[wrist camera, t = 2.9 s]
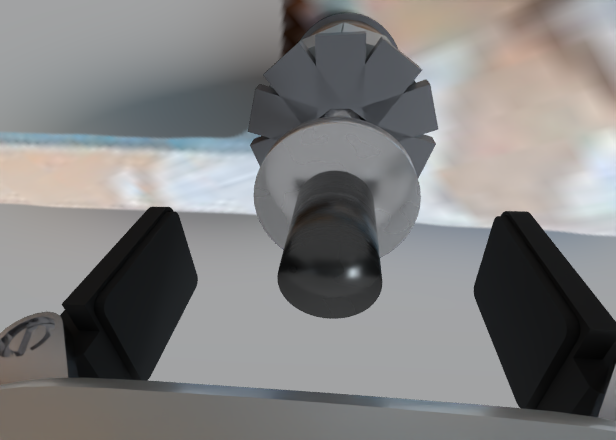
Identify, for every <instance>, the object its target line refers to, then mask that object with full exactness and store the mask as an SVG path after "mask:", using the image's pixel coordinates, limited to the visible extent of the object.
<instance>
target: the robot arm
mask: <svg viewBox="0 0 616 440" xmlns="http://www.w3.org/2000/svg"><path fill="white" fill-rule="evenodd" d="M197 281H198V278H197V274H196V270H195V267H194V264H193V260H192V257H191V254H190V250H189V247H188V244H187V241H186V237H185V234H184V231H183V228H182V224H181V221H180V218H179V215H178V213H177V212H173V210H172V209H171V208H170V207H150V208H149V209H148V210H147V211H146V212H145V213H144V214H143V215H142V216H141V217H140V218H139V220H138V221H137V222H136V223H135V224H134V225H133V226H132V227H131V228H130V229H129V231H128V232H127V233H126V234H125V235H124V236H123V237H122V238H121V239H120V241H119V242H118V243H117V244H116V245H115V246H114V247H113V248H112V249H111V250H110V251H109V253H108V254H107V255H106V256H105V257H104V258H103V259H102V260H101V261H100V262H99V264H98V265H97V266H96V267H95V268H94V269H93V270H92V271H91V272H90V274H89V275H88V276H87V277H86V278H85V279H84V280H83V281H82V282H81V283H80V285H79V286H78V287H77V288H76V289H75V290H74V291H73V292H72V293H71V294H70V296H69V297H68V298H67V299H66V300H65V301H64V302H63V304H62V305H63V307H64V309H65V310H64V312H63V313H62V314H61V315H58V314H56V313H53V312H42V313H36V314H33V315H30V316H27V317H24V318H22V319H20V320H18V321H16V322H15V323H13V324H12V325H10V326H9V327H7V328H6V329H5V330H4V331H3V332H1V333H0V440H616V321H615V320H614V319H613V318H612V316H611V315H610V314H609V313H608V311H607V310H606V309H605V308H604V306H603V305H602V304H601V302H600V301H599V300H598V299H597V297H595V295H594V294H593V292H592V291H591V290H590V289H589V287H588V286H587V285H586V283H585V282H584V281H583V280H582V278H581V277H580V276H579V275H578V273H577V272H576V271H575V270H574V269H573V267H572V266H571V265H570V263H569V262H568V261H567V259H566V258H565V257H564V256H563V255H562V253H561V252H560V251H559V249H558V248H557V247H556V246H555V244H554V243H553V242H552V240H551V239H550V238H549V237H548V236H547V234H546V233H545V232H544V230H543V229H542V228H541V227H540V225H539V224H538V223H537V221H536V220H535V219H534V218H533V216H532V215H531V214H530V213H529V212H518V211H505V212H503V213H502V215H501V216H497V217H496V218H495V219H494V222H493V225H492V228H491V232H490V235H489V239H488V242H487V245H486V248H485V252H484V255H483V259H482V262H481V265H480V268H479V272H478V275H477V278H476V282H475V285H474V296H475V299H476V302H477V305H478V307H479V310H480V312H481V315H482V317H483V320H484V322H485V325H486V327H487V330H488V332H489V334H490V337H491V339H492V342H493V345H494V347H495V349H496V352H497V355H498V357H499V359H500V362H501V364H502V367H503V370H504V372H505V375H506V377H507V379H508V382H509V385H510V387H511V389H512V392H513V395H514V397H515V399H516V402H517V404H518V406H519V407H520V408H510V407H500V406H489V405H478V404H466V403H452V402H440V401H427V400H413V399H401V398H387V397H375V396H360V395H348V394H333V393H320V392H306V391H292V390H278V389H264V388H249V387H235V386H220V385H205V384H190V383H175V382H159V381H147V380H148V379H149V378H150V376H151V374H152V372H153V370H154V368H155V366H156V364H157V362H158V361H159V359H160V357H161V355H162V353H163V351H164V349H165V347H166V345H167V343H168V341H169V339H170V337H171V335H172V333H173V331H174V329H175V327H176V325H177V323H178V321H179V320H180V317H181V316H182V314H183V312H184V310H185V308H186V306H187V304H188V302H189V300H190V298H191V296H192V294H193V292H194V290H195V288H196V286H197Z"/></svg>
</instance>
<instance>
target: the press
mask: <svg viewBox="0 0 616 440" xmlns="http://www.w3.org/2000/svg"><path fill="white" fill-rule="evenodd" d="M421 71H422V70H421V68H420V67H419V66H418V65H417V64H415V63H414V62H413V61H412V60H410V59H409V58H408V57H407V56H405V55H404V54H403V53H402V52H400V51H399V50H398V48H397V45H396V44H395V42H394V40H393V38H392V37H391V36H390V34H389V33H388V32H387V30H386V29H385V28H384V27H383V26H382V25H380V24H379V23H378V22H376V21H375V20H373V19H371V18H369V17H367V16H364V15H361V14H355V13H341V14H335V15H332V16H329V17H327V18H324V19H322V20H321V21H319V22H318V23H316V24H315V25H314V26H312V27H311V28H310V29H309V30H308V31H307V32H306V33H305V34H304V35H303V37H302V38H301V40H300V41H299V42H298V43H297V44H296V45H295V46H294V47H293V48H292V49H291V50H290V51H288V52H287V53H286V54H285V55H284V56H283V57H282V58H281V59H280V60H278V61H277V62H276V63H275V64H274V65H273V66H272V67H271V68H270V69H269V70H267V71H266V72H265V73H264V74H263V76H264V77H265V78H266V79H267V81H268V82H269V83H270V86H269V87H268V86H265V85H261V84H260V85H258V86H257V88H256V89H255V94H254V100H253V105H252V111H251V117H250V122H249V128H248V132H251V133H254V134H258V135H261V137H258V138H255V139H254V140H253V141H252V143H251V144H250V146H251V149H252V151H253V153H254V155H255V157H256V159H257V161H258V163H259V165H260V167H261V165H262V163H263V161H264V159H265V157H266V155H267V153H268V152H269V150H270V149H271V147H272V146H273V145H274V144H275V142H276V141H277V140H278V139H279V138H281V137H282V136H283V135H284V134H285V133H287V132H288V131H290V130H291V129H292V128H294V127H296V126H298V125H300V124H302V123H305V122H308V121H311V120H314V119H318V118H319V117H321V116H322V115H323V114H325V113H326V112H327V111H329V110H330V109H351V110H352V111H354V112H355V113H357V114H358V115H359V116H361V117H362V118H364V119H365V120H366V122H369V123H372V124H374V125H376V126H378V127H380V128H382V129H383V130H385V131H386V132H388V133H389V134H390V135H392V136H393V137H394V138H395V139H396V140H397V141H398V142H399V143H400V144H401V145H402V147H403V148H404V149H405V151H406V152H407V154H408V155H409V157H410V159H411V161H412V164H413V166H414V169H415V172H416V175H417V178H419V176H420V174H421V172H422V170H423V168H424V166H425V164H426V162H427V160H428V158H429V156H430V154H431V152H432V151H433V149H434V147H435V145H436V143H435V142H434V140H433V138H432V137H430V136H427V135H424V134H425V133H428V132H431V131H435V130H438V125H437V120H436V114H435V109H434V103H433V97H432V92H431V86H430V83H429V82H428V81H427V80H423V81H420V82H417V83H416V82H415V80H414V79H415V78H416V77H417V76H418V74H419V73H420V72H421Z"/></svg>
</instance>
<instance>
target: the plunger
mask: <svg viewBox="0 0 616 440" xmlns="http://www.w3.org/2000/svg"><path fill="white" fill-rule="evenodd" d="M420 199H421V195H420V186H419V182H418V178H417V175H416V172H415V169H414V166H413V164H412V161H411V159H410V157H409V155H408V154H407V152H406V151H405V149H404V148H403V147H402V145H401V144H400V143H399V142H398V141H397V140H396V139H395V138H394V137H393V136H392V135H390V134H389V133H388V132H386V131H385V130H383V129H382V128H380V127H378V126H376V125H374V124H372V123H369V122H366V120H365V119H364V118H362V117H361V116H359V115H358V114H357V113H355V112H354V111H352V110H351V109H330V110H329V111H327V112H326V113H325V114H323V115H322V116H321V117H319V118H318V119H314V120H311V121H308V122H305V123H302V124H300V125H298V126H296V127H294V128H292V129H291V130H290V131H288V132H287V133H285V134H284V135H283V136H282V137H281V138H279V139H278V140H277V141H276V142H275V144H274V145H273V146H272V147H271V149H270V150H269V152H268V153H267V155H266V157H265V159H264V161H263V163H262V165H261V167H260V169H259V171H258V174H257V177H256V181H255V185H254V204H255V209H256V213H257V216H258V218H259V221H260V223H261V224H262V226H263V228H264V230H265V231H266V233H267V234H268V236H269V237H270V238H271V239H272V240H273V241H274V242H275V243H276V244H277V245H278V246H279V247H280V248H282V249H283V250H284V251H283V255H282V259H281V263H280V267H279V271H278V285H279V288H280V291H281V292H282V294H283V296H284V297H285V298H286V299H287V301H289V303H290V304H292V305H293V306H294V307H296V308H297V309H299V310H301V311H303V312H305V313H307V314H310V315H313V316H316V317H322V318H345V317H350V316H353V315H356V314H359V313H361V312H363V311H365V310H366V309H368V308H369V307H370V306H371V305H372V304H373V303H374V302H375V301H376V300H377V298H378V297H379V295H380V292H381V289H382V274H381V265H380V258H381V257H383V256H384V255H386V254H388V253H389V252H391V251H392V250H393V249H395V248H396V247H397V246H398V245H399V244H400V243H401V242H402V241H403V240H404V239H405V238H406V237H407V235H408V234H409V233H410V231H411V229H412V228H413V226H414V224H415V221H416V219H417V216H418V213H419V208H420Z"/></svg>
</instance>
